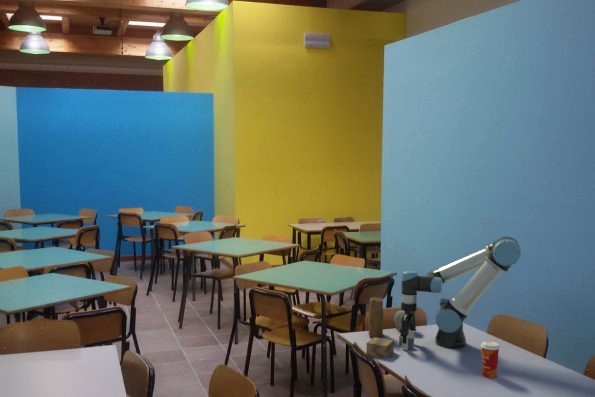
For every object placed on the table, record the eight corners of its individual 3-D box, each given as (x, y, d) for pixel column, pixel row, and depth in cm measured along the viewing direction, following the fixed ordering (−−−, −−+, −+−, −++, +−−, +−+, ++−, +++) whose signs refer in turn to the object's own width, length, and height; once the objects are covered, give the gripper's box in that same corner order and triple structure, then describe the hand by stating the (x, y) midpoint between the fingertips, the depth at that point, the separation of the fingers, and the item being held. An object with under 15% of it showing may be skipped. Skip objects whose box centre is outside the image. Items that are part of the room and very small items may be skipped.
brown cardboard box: (393, 352, 273) (393, 340, 272) (386, 358, 264) (386, 346, 263) (373, 349, 277) (374, 337, 277) (366, 355, 269) (366, 342, 268)
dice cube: (405, 349, 277) (405, 339, 277) (398, 346, 282) (399, 336, 282) (413, 347, 280) (413, 337, 279) (407, 344, 284) (407, 335, 284)
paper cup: (477, 372, 247) (478, 340, 246) (495, 372, 247) (496, 341, 246) (483, 379, 239) (483, 346, 238) (501, 379, 239) (502, 346, 238)
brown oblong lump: (383, 338, 293) (383, 300, 292) (368, 338, 294) (369, 300, 293) (382, 332, 304) (382, 295, 303) (368, 332, 305) (368, 295, 304)
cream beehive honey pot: (401, 325, 317) (402, 306, 316) (423, 333, 303) (423, 313, 302) (387, 328, 311) (387, 308, 311) (408, 336, 297) (408, 315, 296)
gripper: (408, 296, 291) (407, 339, 292) (394, 306, 271) (393, 351, 272) (422, 298, 287) (421, 341, 289) (409, 308, 267) (408, 354, 269)
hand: (408, 346), depth 280 cm, fingers open, 10 cm apart
